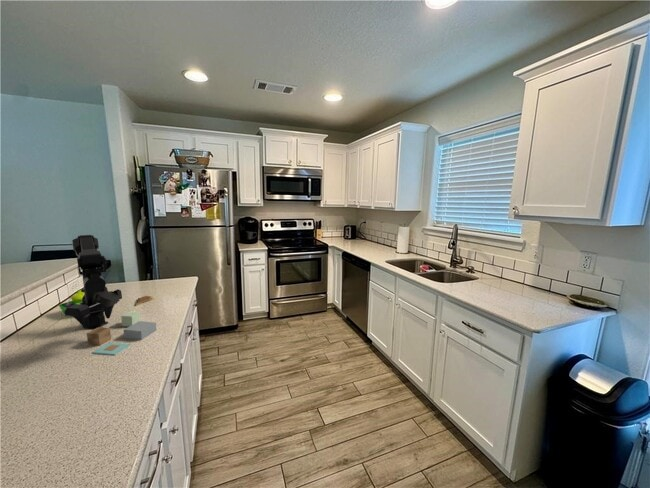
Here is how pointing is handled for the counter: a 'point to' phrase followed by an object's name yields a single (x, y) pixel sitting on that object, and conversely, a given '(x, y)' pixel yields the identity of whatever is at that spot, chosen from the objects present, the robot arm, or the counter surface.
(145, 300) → the shard
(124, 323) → the sage cube
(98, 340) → the walnut cube
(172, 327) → the counter surface
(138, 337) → the slate block
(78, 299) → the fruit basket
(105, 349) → the card
